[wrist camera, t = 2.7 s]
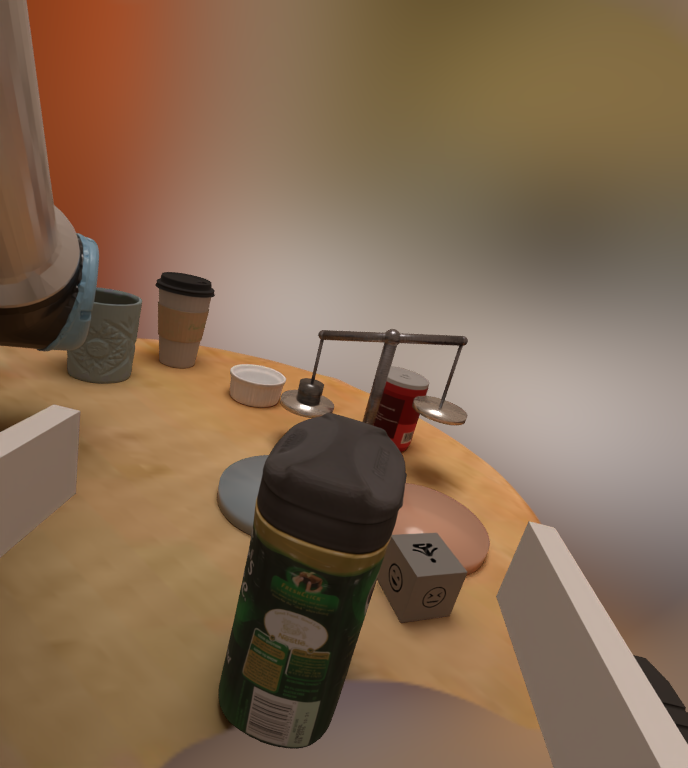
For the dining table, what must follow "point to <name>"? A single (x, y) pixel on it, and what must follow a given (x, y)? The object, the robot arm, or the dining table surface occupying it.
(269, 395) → the ramekin
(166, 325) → the coffee cup
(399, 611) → the dice cube
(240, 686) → the coffee jar
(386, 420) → the canned food
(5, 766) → the dining table surface
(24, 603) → the dining table surface
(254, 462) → the slate dish
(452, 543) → the terracotta dish
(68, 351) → the grey-green ceramic planter
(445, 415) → the balance
